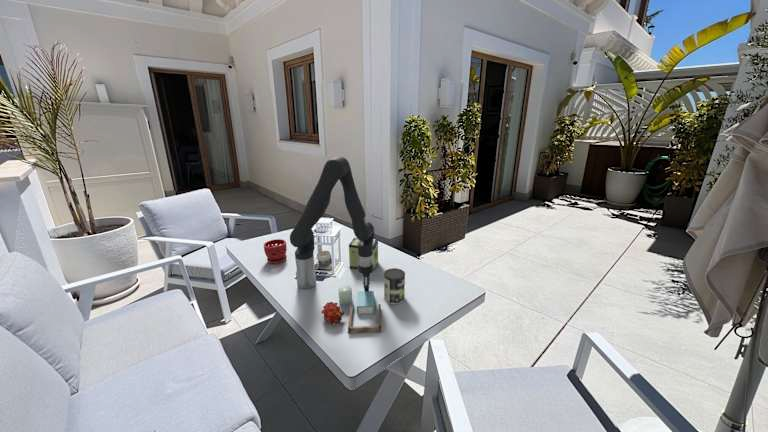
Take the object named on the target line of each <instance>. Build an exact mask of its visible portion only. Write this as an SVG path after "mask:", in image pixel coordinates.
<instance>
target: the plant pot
mask: <svg viewBox="0 0 768 432" xmlns="http://www.w3.org/2000/svg"><path fill="white" fill-rule="evenodd" d="M287 249H288V248H287V241H286V239H282V238H278V239H277V238H276V239H270V240H269V241H266V242H264V243H263V250H264V254H265V256H266V259H267V260H266V261H267V262H268V263H269V264H280V263H282V262H284V261H286V260H287V258H288V255H286V254H287V251H288V250H287Z"/></svg>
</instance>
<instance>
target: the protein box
mask: <svg viewBox="0 0 768 432" xmlns="http://www.w3.org/2000/svg"><path fill="white" fill-rule="evenodd" d="M359 242H360V240H359V239H358V238H357V237H354V238H353V239H352V240H351V242H349V244H348V258H349V269H355V270H358V244H359ZM372 247H373V263H374V271H375V270H376V268H377V266H378V264H379V240H378V239H375V238H374V239H373V245H372Z"/></svg>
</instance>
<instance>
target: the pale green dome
mask: <svg viewBox="0 0 768 432" xmlns="http://www.w3.org/2000/svg"><path fill="white" fill-rule="evenodd" d="M352 289H353V288H352V287H351V286H349V285H343V286H340V287H338V290H337V292H338V305H341V306H343V307H344V306H345V307H347V306H351V305H352V303H353V290H352Z"/></svg>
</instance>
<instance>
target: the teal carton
mask: <svg viewBox="0 0 768 432" xmlns="http://www.w3.org/2000/svg"><path fill="white" fill-rule="evenodd" d="M356 314H357V315H359V314H361V315H362V314H363V315H364V314H367V315H368V314H375V290H369V291H364V290H363V291H362V290H360V291H359V290H358V291H357V298H356Z"/></svg>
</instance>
